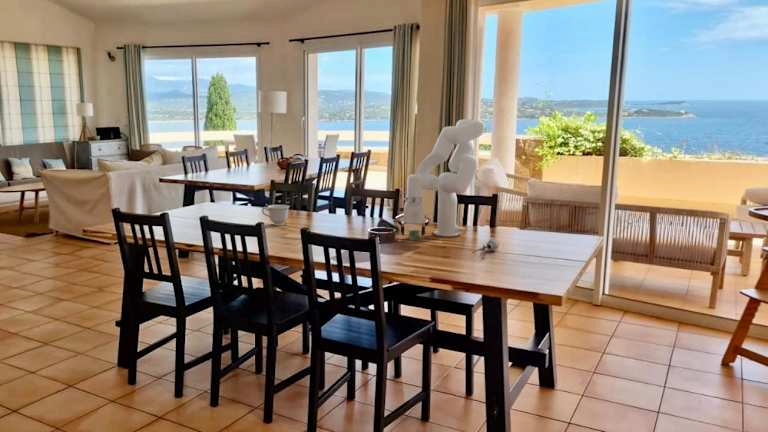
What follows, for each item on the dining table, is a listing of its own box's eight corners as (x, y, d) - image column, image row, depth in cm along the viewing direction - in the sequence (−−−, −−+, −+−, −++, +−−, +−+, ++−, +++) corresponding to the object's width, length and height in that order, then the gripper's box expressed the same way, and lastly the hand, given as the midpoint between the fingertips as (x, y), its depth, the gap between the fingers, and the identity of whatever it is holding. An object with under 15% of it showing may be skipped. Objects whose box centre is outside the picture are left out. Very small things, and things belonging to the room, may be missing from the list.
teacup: (261, 222, 318) (261, 205, 317) (288, 222, 322) (288, 204, 321) (262, 227, 307) (262, 208, 305) (291, 226, 311) (290, 207, 309)
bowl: (394, 237, 287) (394, 227, 286) (396, 243, 274) (396, 232, 273) (367, 237, 286) (367, 227, 285) (368, 243, 273) (368, 232, 272)
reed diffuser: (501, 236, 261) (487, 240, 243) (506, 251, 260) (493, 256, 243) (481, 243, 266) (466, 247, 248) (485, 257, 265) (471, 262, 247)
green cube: (417, 237, 287) (418, 228, 286) (418, 239, 282) (419, 230, 282) (408, 237, 286) (408, 228, 286) (409, 239, 282) (410, 230, 281)
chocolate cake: (402, 231, 303) (387, 214, 305) (401, 230, 296) (385, 212, 298) (388, 243, 303) (373, 226, 305) (387, 242, 296) (372, 225, 298)
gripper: (397, 200, 277) (395, 235, 279) (433, 201, 278) (431, 236, 281) (395, 198, 284) (394, 232, 287) (430, 199, 285) (429, 233, 288)
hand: (412, 234), depth 284 cm, fingers open, 9 cm apart
